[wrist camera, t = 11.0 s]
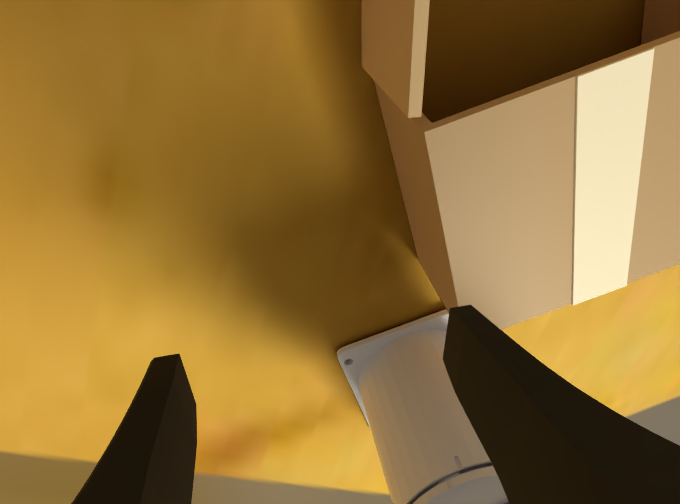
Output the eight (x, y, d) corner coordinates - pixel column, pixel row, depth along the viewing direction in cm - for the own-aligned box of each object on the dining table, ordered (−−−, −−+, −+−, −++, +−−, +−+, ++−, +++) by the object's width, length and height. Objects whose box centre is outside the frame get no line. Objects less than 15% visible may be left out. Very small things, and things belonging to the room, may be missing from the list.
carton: (634, 180, 25) (734, 246, 20) (418, 260, 25) (466, 344, 20) (657, -30, 19) (808, -9, 14) (372, 76, 19) (425, 133, 14)
